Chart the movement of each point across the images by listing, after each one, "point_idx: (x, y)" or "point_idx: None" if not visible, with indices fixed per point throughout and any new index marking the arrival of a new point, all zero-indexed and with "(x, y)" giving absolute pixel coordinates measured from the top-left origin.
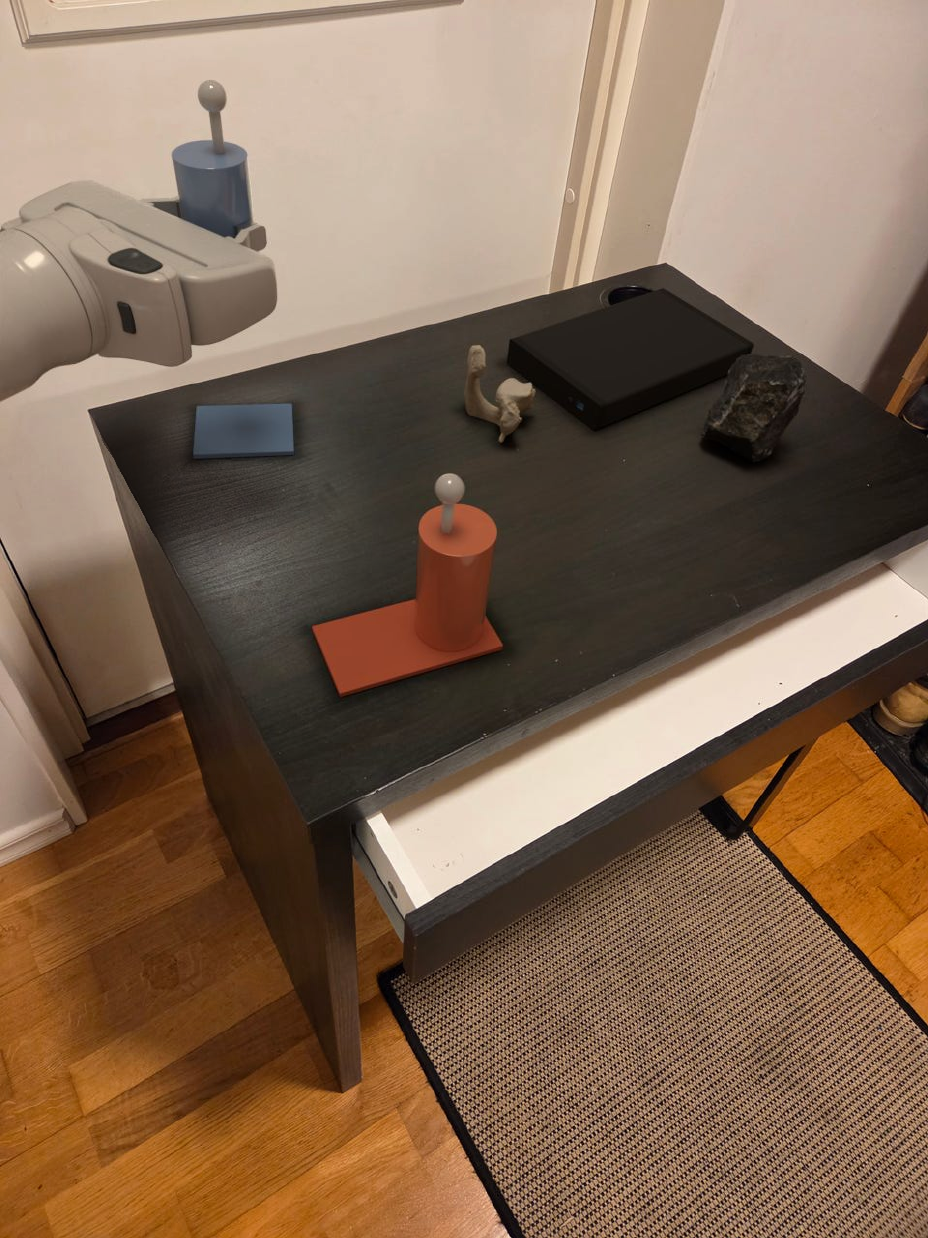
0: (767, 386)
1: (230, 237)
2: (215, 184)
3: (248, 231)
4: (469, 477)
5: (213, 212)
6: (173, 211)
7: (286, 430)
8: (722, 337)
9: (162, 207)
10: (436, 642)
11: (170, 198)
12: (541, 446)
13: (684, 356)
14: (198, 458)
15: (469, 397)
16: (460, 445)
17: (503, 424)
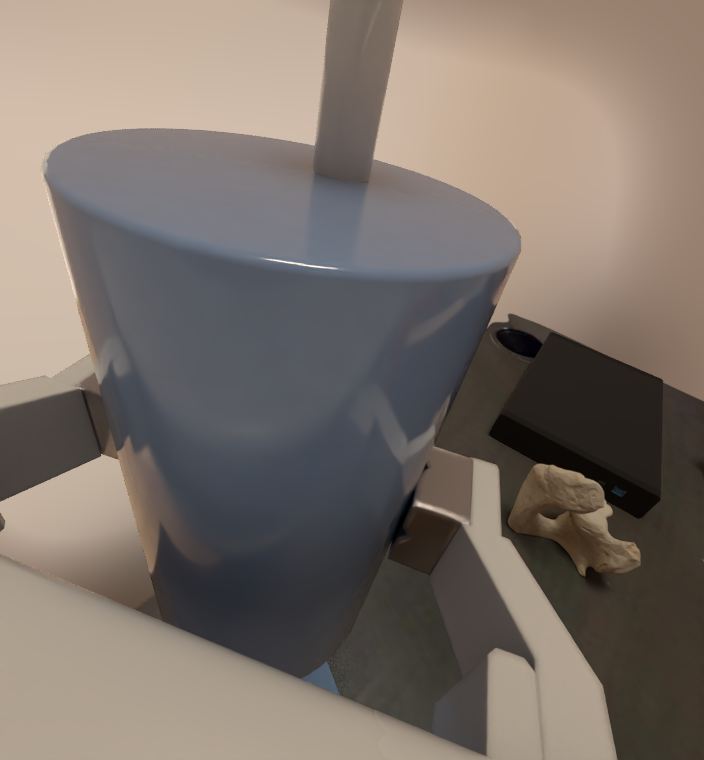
0: None
1: (510, 661)
2: (431, 375)
3: (499, 534)
4: (612, 677)
5: (359, 504)
6: (71, 426)
7: (321, 677)
8: (639, 377)
9: (12, 429)
10: None
11: (52, 378)
12: None
13: (642, 405)
14: None
15: (528, 519)
16: (550, 601)
17: (615, 571)
